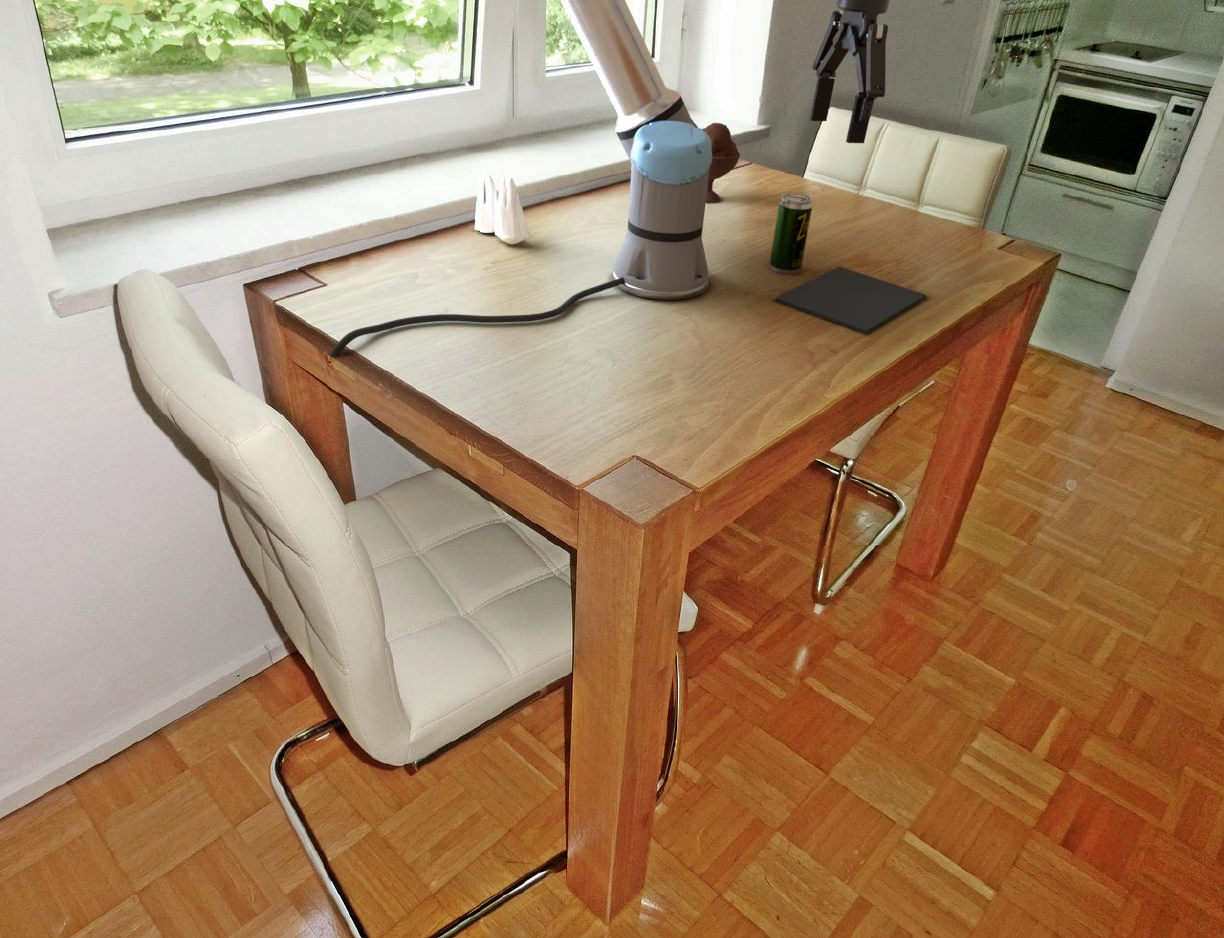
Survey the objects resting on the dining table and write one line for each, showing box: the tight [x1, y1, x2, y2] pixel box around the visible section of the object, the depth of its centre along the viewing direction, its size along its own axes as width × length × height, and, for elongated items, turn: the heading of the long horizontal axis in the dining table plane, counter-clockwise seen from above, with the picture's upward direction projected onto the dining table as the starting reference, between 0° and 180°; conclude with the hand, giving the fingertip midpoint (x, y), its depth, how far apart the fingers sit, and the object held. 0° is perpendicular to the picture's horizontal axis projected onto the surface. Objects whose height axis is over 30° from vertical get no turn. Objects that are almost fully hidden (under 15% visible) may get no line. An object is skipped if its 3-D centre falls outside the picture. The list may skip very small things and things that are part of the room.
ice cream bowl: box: [701, 122, 741, 204], centre depth 178 cm, size 11×11×15 cm
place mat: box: [774, 266, 927, 335], centre depth 142 cm, size 20×16×1 cm
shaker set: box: [474, 173, 530, 245], centre depth 154 cm, size 12×4×11 cm, turn 40°
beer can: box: [769, 193, 813, 275], centre depth 148 cm, size 5×5×12 cm
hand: (835, 131), depth 143 cm, fingers open, 13 cm apart
